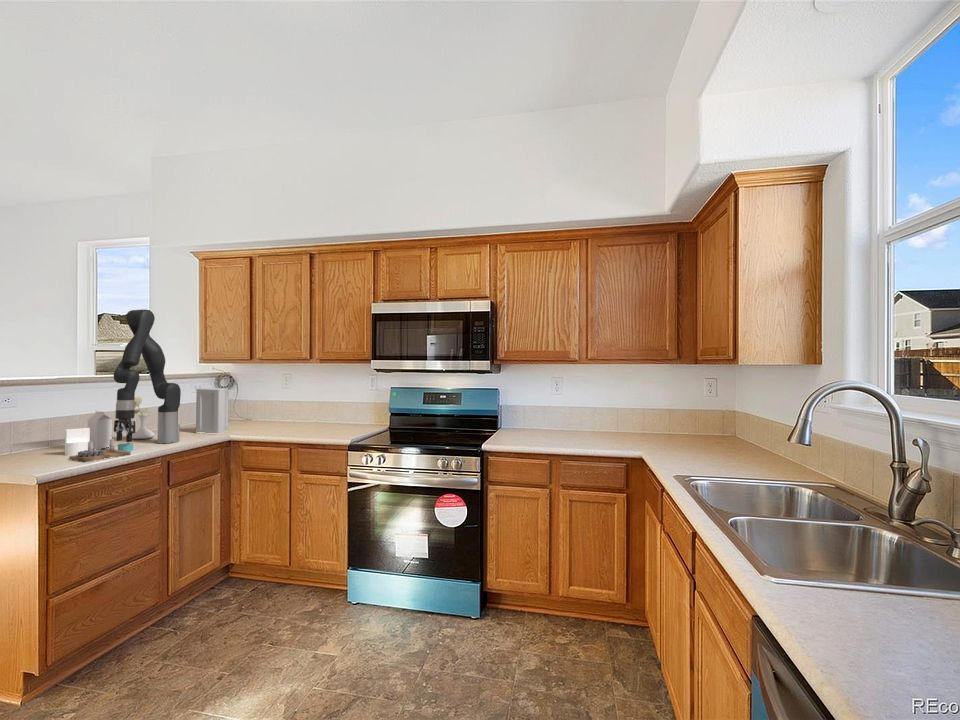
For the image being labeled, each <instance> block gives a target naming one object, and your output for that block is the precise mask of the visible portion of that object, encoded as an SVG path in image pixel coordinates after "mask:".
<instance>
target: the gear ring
mask: <svg viewBox="0 0 960 720" xmlns="http://www.w3.org/2000/svg"><path fill="white" fill-rule="evenodd" d="M117 450H121V451H128V452H132V451H131V450H133V451H134V443H133V442H122V443H118V444H117Z"/></svg>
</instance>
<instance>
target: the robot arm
mask: <svg viewBox="0 0 960 720" xmlns="http://www.w3.org/2000/svg"><path fill="white" fill-rule="evenodd" d="M155 318H156V317H155V315H154V312H152V311H151V310H149V309H132V310H129V311H128V312H127V313H126V315H125V319H126V323H127V325H128V327H129V329H130V331H131V333H132V334H133V337H132V338H131V339H130V340H129V342H128V343H127V344H126V346H125V348H124V349H123V350H124V351H123V355H122V357H121V361H120V362H119V364H118V365H117V367H116V368H115V370H114V372H113V380H114V381H115V383H118V384H124V385H125V386H124V387H123V388H122V387H120V388H118V389H117V390H116V402H115V403H116V404H115V420H114V421H113V423H114V424H113V432H114V433H115V434H116V437H115V438H116V441H117V442H121V441H123V432H125V434H126V436H125V438H126V441H125V443H133V442H132V441H133V438H132V434H133V433H135V432H136V421H135V420H132V419H134V418H135V415H136V414H135V410H136V407H135V401H134V399H135V397H136V396H135V395H136V393H135V392H136V389H137V387H138V384H139V381H140V373H139V372H138V371H137V370H136V369H133V368H132V367H135V366H138V365H139V363H140V359H141V356H142V358H143V361H144V364H145V366H146V368H147V371H148V374H149V377H150V380H151V383H152V388H153V392H154V394H155V396H156V397H157V398H158V399H160V400H164V401H163V403H162V404H161V405H160V406H158V409H157V444H159V443H166V444H172V443H171V442H175V443H178V442H177V441H179V442H180V432H181V431H180V427H181V426H180V424H179V408H180V405H181V397H182V396H181V393H182V392H181V387H180V385H179V384H178V383H175V382H168V381H167V379H166V376H165V373H164V372H165V366H166V358H165V354H164V351H163V349H162V347H161V345H159V344H158V343H157V341H156V340H155V339H153V337H152V336H151V335H150V333H151V330H152V328H153V326H154V325H155V320H156V319H155Z"/></svg>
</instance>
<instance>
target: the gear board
mask: <svg viewBox="0 0 960 720" xmlns="http://www.w3.org/2000/svg"><path fill="white" fill-rule="evenodd" d="M125 455H127V456H131V451H121V450H118V449H115V439H114V438H112V439H110V444H109V448H108V450H103V449H96V450H93V442H92V441H90V442H88V450H85V451H80V452H78V455H70V456H68V457H69V458H68V460H69V459H72V460H71V461H75V460H77V461H76V462H80V461H82V463H90V462H95V461H94V460H96V461H100V460H99V459H102V460H105V459H104V458H109V459H111V458H110V457H115V458H117V457H116V456H121V457H126V456H125ZM89 461H90V462H89Z"/></svg>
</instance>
